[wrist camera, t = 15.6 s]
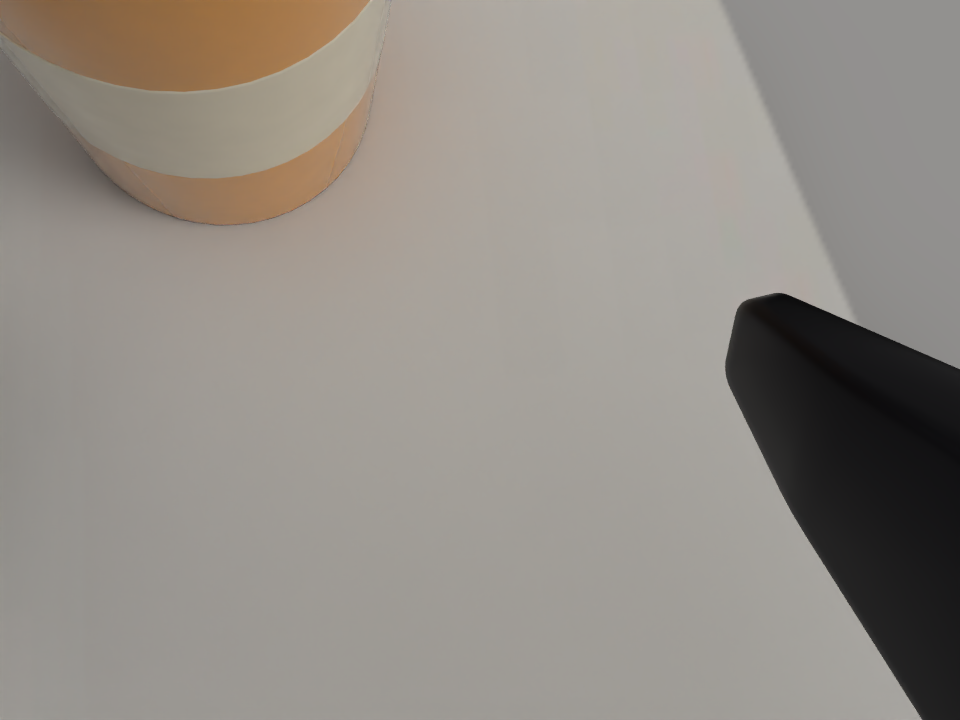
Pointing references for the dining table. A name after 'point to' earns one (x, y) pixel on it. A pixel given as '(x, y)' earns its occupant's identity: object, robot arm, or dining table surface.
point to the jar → (206, 94)
